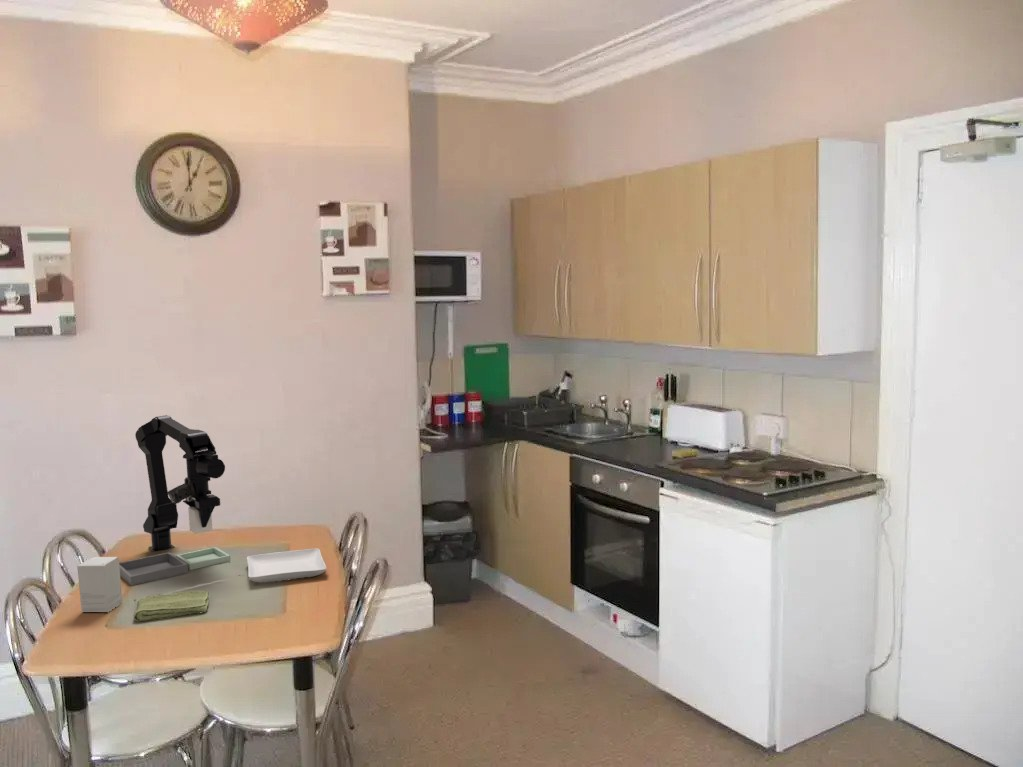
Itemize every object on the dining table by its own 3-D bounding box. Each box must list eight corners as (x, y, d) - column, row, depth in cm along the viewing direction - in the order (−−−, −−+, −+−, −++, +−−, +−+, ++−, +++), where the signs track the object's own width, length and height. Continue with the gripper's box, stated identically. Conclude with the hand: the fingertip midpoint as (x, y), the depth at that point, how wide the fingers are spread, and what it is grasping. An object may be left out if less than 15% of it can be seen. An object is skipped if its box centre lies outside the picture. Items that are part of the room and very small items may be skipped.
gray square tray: (115, 573, 249) (114, 563, 248) (170, 561, 258) (169, 552, 258) (131, 587, 237) (130, 576, 236) (188, 574, 246) (187, 564, 246)
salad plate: (319, 557, 261) (318, 546, 260) (327, 579, 241) (327, 567, 240) (246, 566, 254) (246, 555, 253) (249, 589, 234) (248, 577, 233)
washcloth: (209, 614, 216) (208, 602, 216) (133, 625, 211) (132, 612, 210) (209, 597, 229) (208, 585, 228) (137, 606, 223) (137, 594, 223)
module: (189, 530, 256) (188, 507, 255) (206, 526, 259) (205, 504, 259) (195, 533, 252) (194, 510, 252) (212, 530, 256) (211, 507, 255)
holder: (176, 562, 258) (176, 555, 258) (215, 553, 265) (215, 546, 265) (190, 571, 249) (189, 564, 248) (230, 562, 256) (230, 555, 256)
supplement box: (123, 602, 225) (120, 556, 223) (107, 613, 218) (103, 565, 216) (97, 602, 226) (93, 556, 224) (80, 613, 218) (76, 565, 217)
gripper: (159, 473, 256) (163, 524, 258) (180, 483, 242) (184, 537, 243) (196, 467, 263) (200, 517, 265) (219, 477, 249) (222, 529, 250)
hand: (200, 525), depth 256 cm, fingers closed on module, 5 cm apart
